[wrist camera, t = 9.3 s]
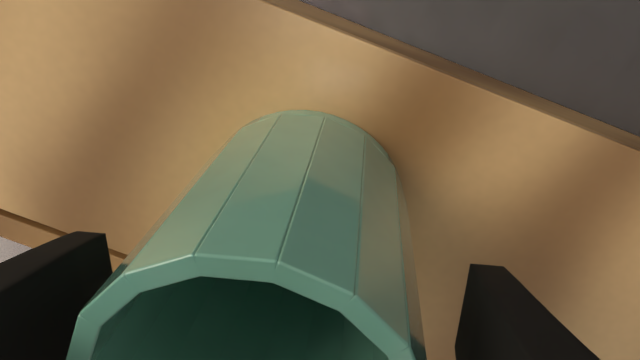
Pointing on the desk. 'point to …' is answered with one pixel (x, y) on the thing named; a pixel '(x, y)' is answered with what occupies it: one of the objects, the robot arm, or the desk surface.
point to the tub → (270, 257)
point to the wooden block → (329, 97)
